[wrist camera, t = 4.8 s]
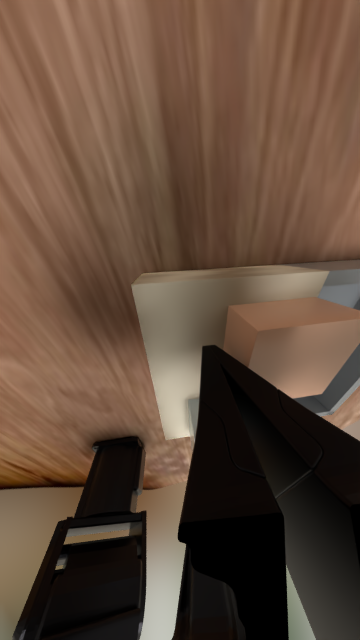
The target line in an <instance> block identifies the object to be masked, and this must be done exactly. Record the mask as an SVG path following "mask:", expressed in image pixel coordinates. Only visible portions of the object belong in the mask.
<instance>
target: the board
mask: <svg viewBox="0 0 360 640" xmlns="http://www.w3.org/2000/svg"><path fill="white" fill-rule="evenodd" d="M329 272H330V271H326V270H318V269H309V268H301V267H293V266H284V265H265V266H249V267H234V268H218V269H203V270H187V271H172V272H156V273H142V274H141V275H140V276H139V277H138V278H137V279H136V280H135V281H134V282H133V283H132V284H131V287H132V292H133V296H134V301H135V305H136V310H137V314H138V319H139V323H140V328H141V332H142V337H143V341H144V346H145V350H146V355H147V359H148V364H149V368H150V373H151V377H152V382H153V386H154V390H155V395H156V399H157V404H158V408H159V413H160V417H161V422H162V426H163V431H164V435H165V440H169V439H175V438H182V437H188V436H190V432H189V408H188V400H191V399H198V398H199V392H200V374H201V356H202V346H206V345H217V346H218V347H219V348H221V349H222V350H223V347H224V339H225V331H226V322H227V314H228V306H231V305H240V304H250V303H260V302H269V301H279V300H289V299H298V298H308V297H318V295H319V293H320V291H321V289H322V286H323V284H324V282H325V280H326V278H327V276H328V274H329Z"/></svg>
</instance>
